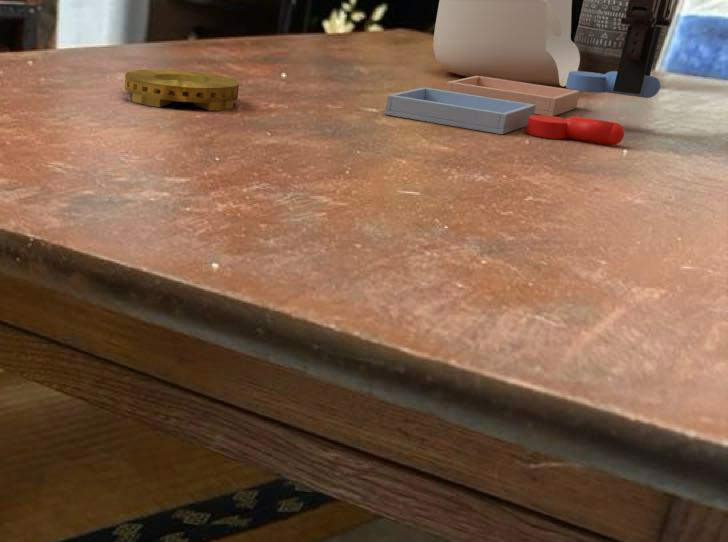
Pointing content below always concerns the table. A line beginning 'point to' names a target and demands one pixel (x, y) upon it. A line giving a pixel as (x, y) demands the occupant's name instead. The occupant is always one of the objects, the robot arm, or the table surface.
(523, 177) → the table surface
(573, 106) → the rose tray
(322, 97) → the table surface
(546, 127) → the red spoon
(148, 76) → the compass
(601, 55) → the planter
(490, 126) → the blue tray
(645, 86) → the blue spoon
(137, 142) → the table surface
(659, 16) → the robot arm
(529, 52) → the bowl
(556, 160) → the table surface
